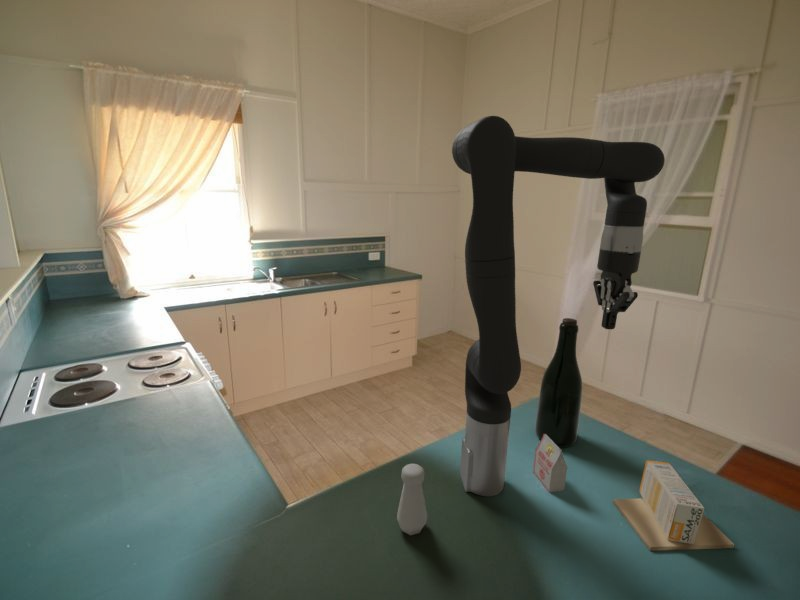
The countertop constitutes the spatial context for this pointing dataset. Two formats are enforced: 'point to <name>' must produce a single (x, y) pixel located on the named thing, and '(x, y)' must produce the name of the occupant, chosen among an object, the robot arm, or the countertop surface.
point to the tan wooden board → (654, 536)
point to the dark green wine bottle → (561, 390)
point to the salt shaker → (412, 500)
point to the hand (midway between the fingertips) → (607, 328)
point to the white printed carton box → (550, 465)
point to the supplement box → (671, 502)
